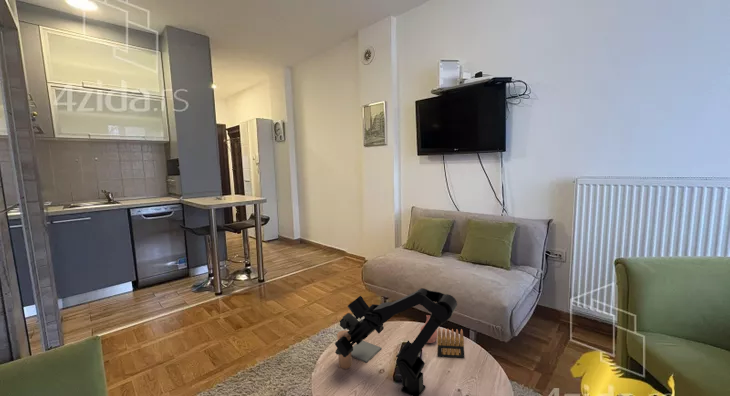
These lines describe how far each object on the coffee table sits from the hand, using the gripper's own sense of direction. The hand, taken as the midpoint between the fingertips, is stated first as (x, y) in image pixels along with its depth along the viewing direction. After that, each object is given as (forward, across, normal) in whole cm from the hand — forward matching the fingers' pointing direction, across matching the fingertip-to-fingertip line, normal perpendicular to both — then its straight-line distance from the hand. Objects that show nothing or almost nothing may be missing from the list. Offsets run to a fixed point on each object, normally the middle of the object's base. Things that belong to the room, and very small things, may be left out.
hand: (342, 346), depth 121 cm
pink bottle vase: (-13, -31, +23) cm, 40 cm away
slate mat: (+3, -11, +7) cm, 13 cm away
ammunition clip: (-21, -24, +31) cm, 45 cm away
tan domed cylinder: (+5, 0, +6) cm, 7 cm away
